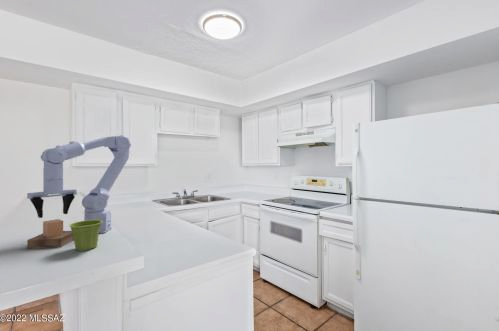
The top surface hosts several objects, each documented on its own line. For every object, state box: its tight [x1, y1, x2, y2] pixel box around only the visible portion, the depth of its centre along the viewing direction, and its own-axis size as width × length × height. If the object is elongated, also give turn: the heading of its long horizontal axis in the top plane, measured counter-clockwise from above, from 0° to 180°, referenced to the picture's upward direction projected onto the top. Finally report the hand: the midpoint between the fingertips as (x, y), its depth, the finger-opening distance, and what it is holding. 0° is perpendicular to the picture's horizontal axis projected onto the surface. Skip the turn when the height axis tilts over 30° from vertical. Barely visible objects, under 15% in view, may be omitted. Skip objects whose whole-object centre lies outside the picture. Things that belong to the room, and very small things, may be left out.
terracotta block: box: [42, 218, 64, 237], centre depth 85 cm, size 4×4×5 cm
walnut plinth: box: [26, 230, 74, 250], centre depth 85 cm, size 10×10×3 cm
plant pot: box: [68, 220, 102, 252], centre depth 80 cm, size 9×9×9 cm
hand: (53, 215), depth 88 cm, fingers open, 7 cm apart
